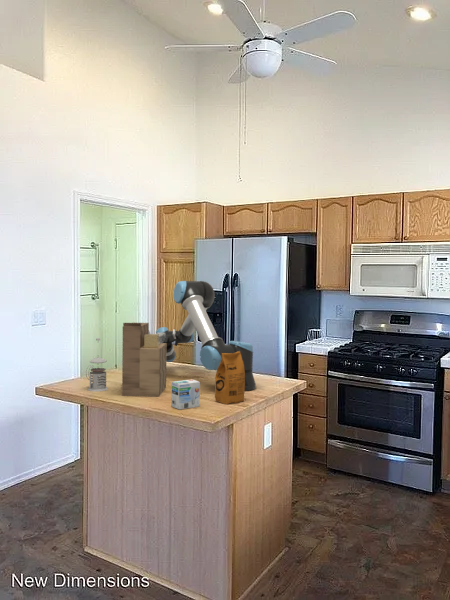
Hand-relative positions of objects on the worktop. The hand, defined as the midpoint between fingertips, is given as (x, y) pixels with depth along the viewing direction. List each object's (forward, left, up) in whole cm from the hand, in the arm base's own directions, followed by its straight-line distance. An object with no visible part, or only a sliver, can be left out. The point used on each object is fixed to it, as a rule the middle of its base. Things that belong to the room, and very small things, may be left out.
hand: (160, 331), depth 266 cm
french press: (+15, +30, -27) cm, 43 cm away
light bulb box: (-39, +30, -27) cm, 56 cm away
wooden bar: (-7, +11, -5) cm, 14 cm away
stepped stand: (-6, +19, -27) cm, 34 cm away
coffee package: (-49, +11, -27) cm, 57 cm away
